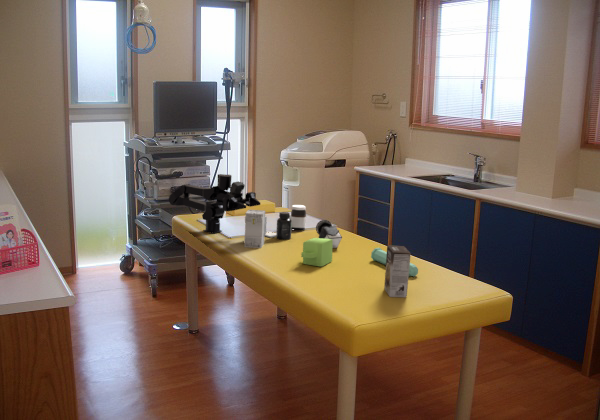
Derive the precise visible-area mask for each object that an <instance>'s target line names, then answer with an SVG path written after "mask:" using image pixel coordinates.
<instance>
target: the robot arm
mask: <svg viewBox="0 0 600 420" xmlns="http://www.w3.org/2000/svg"><path fill="white" fill-rule="evenodd" d="M232 178H233V177H232V174H224V173H223V174H217V185H215V186H212V187H202V186H198V185H193V184H190V183H186V184H182V185H181V186H180V185H179V187H178V188H177V189H176V190H175V191H172V193H170V195H169V196H168V202H169V204H170V205H171V206H173V207H174V206H177V207H178V206H184V207H188V208H191V209H193V210H197V211H200V212H203V213H202V215H201V216H202V220H204V221H205V229H203V230H202V231H203V232H205V233H209V234H217V233H221V232H223V230H221V223H220V222H221V221H220V219H223V218H224V214H225V212H233V211H238V210H243V209H246V208H247V207H249V208H251V207H255V206H260V205H261V202H260V201H259V200H258V199H257V198H256V195H257V193H256V192H254V191H249V192H247V193H245V195H244V193H243V192H242V191H243V190H244V189H245V187H246V185H245V183H244V182H241V181H233V182H232ZM190 195H194V196H198V197H202V198H203V199H204V200H207V201H206V202H205V201H202V200H199V199H195V198H193V197H190ZM243 195H244V196H245V198H243Z"/></svg>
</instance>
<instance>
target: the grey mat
mask: <svg viewBox="0 0 600 420" xmlns="http://www.w3.org/2000/svg"><path fill="white" fill-rule="evenodd" d="M266 232H267V231H266ZM274 232H275V231H273V233H272V232H269V233H268V232H267V233H266V234H265V236H264V238H265V237H266V238H269V239H272V238H276V233H274Z"/></svg>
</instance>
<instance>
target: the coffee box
mask: <svg viewBox="0 0 600 420" xmlns="http://www.w3.org/2000/svg"><path fill="white" fill-rule="evenodd" d="M386 252H387V257H386V265H385V273H384V286H383V287H384V290H385V292H386V293H387V295H388V297H390V298H407V297H406V296H408V287H409V277H410V276H409V267H410V263H411V252H410V251H409V250H408V249H407V247H405V245H390V244H388V245H386Z"/></svg>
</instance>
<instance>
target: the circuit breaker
mask: <svg viewBox="0 0 600 420" xmlns="http://www.w3.org/2000/svg"><path fill="white" fill-rule="evenodd" d="M244 213H245V217H244V223H245V224H244V238H243V239H244V241H243V243H244V246H243V247H244V248H252V249H253V248H255V249H262V247H263V246H264V245H265V234H266V232H267V219H268V218H267V216H266V210H261V209H248V210H247V211H246V212H244Z"/></svg>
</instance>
